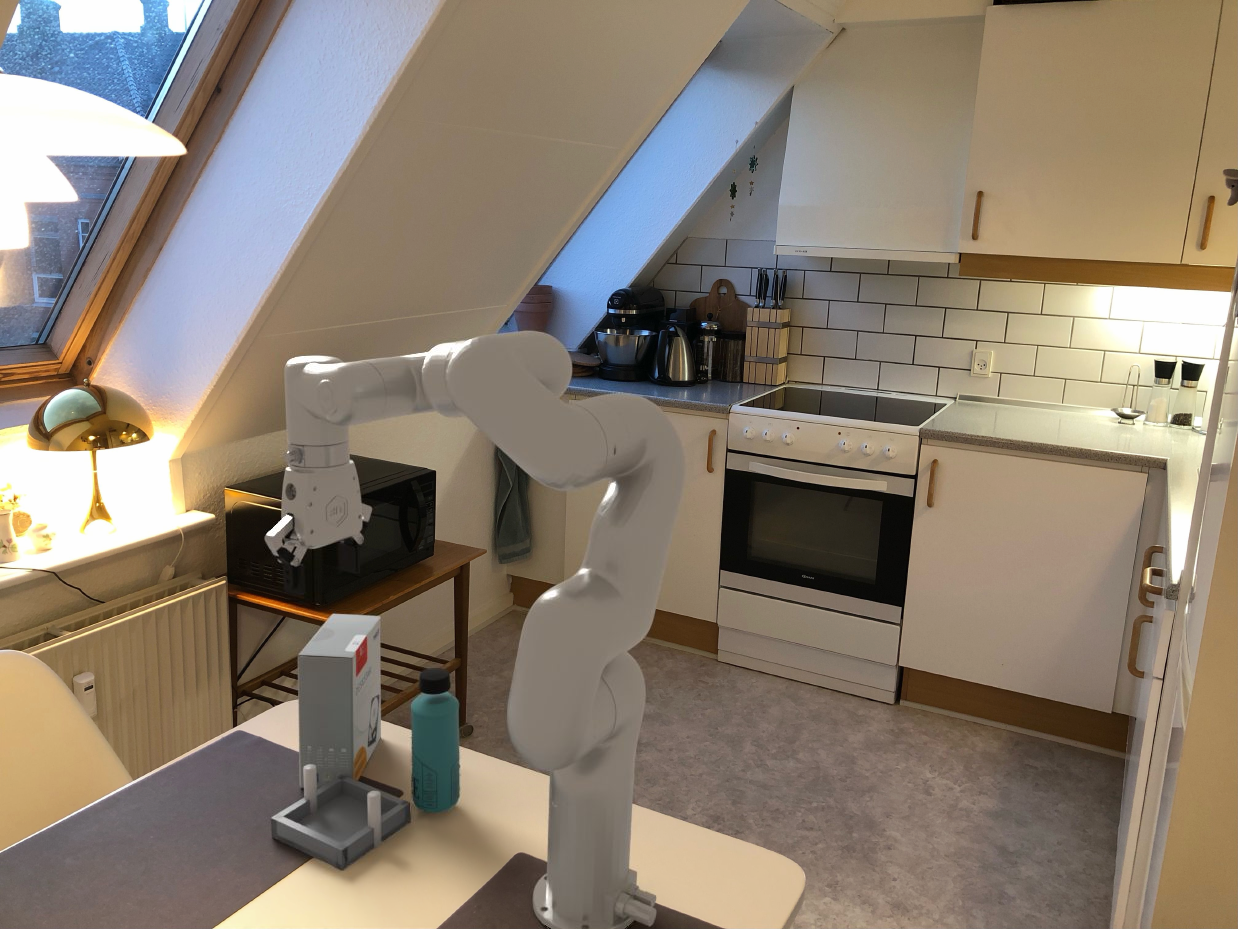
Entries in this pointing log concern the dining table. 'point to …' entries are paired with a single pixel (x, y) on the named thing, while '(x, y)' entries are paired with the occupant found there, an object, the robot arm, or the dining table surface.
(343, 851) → the tray
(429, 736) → the beverage bottle
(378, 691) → the hard drive box
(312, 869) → the dining table surface
